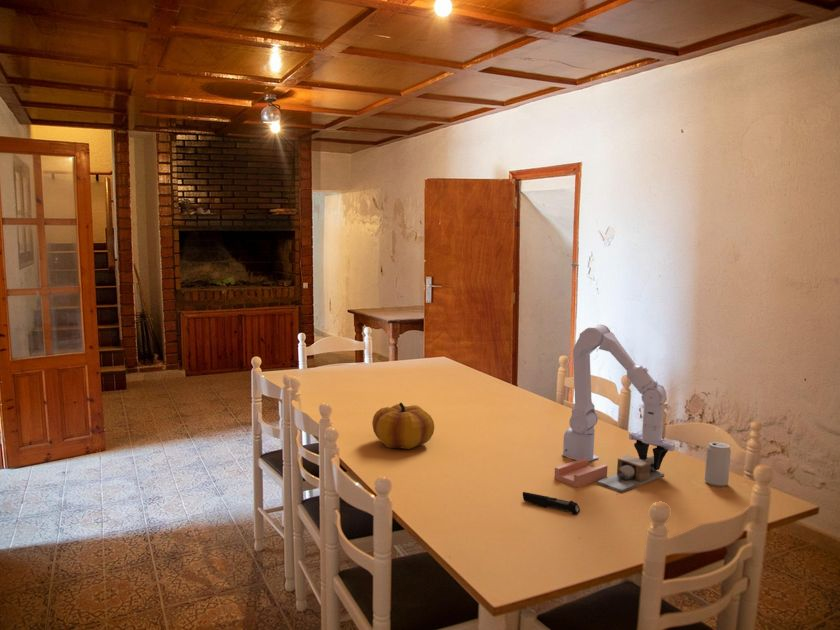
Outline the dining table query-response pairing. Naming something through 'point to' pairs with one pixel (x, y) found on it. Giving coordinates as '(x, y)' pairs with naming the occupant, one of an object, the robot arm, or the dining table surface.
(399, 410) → the decorative pumpkin
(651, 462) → the axle
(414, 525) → the dining table surface
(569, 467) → the cradle
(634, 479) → the arched stand
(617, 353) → the robot arm
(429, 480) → the dining table surface
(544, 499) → the electric trimmer
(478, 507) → the dining table surface
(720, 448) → the beverage can
